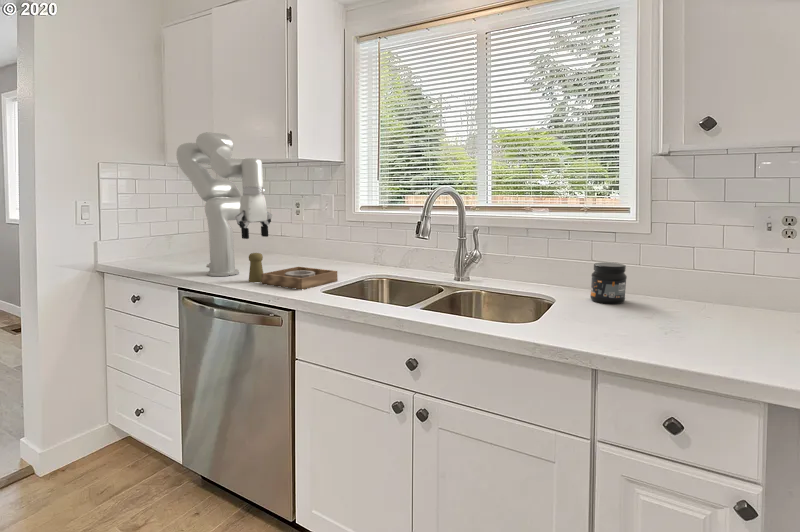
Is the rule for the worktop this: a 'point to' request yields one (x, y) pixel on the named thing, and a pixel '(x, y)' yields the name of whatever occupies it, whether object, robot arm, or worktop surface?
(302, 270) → the box
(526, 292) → the worktop surface
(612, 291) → the supplement container
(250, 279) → the cork
